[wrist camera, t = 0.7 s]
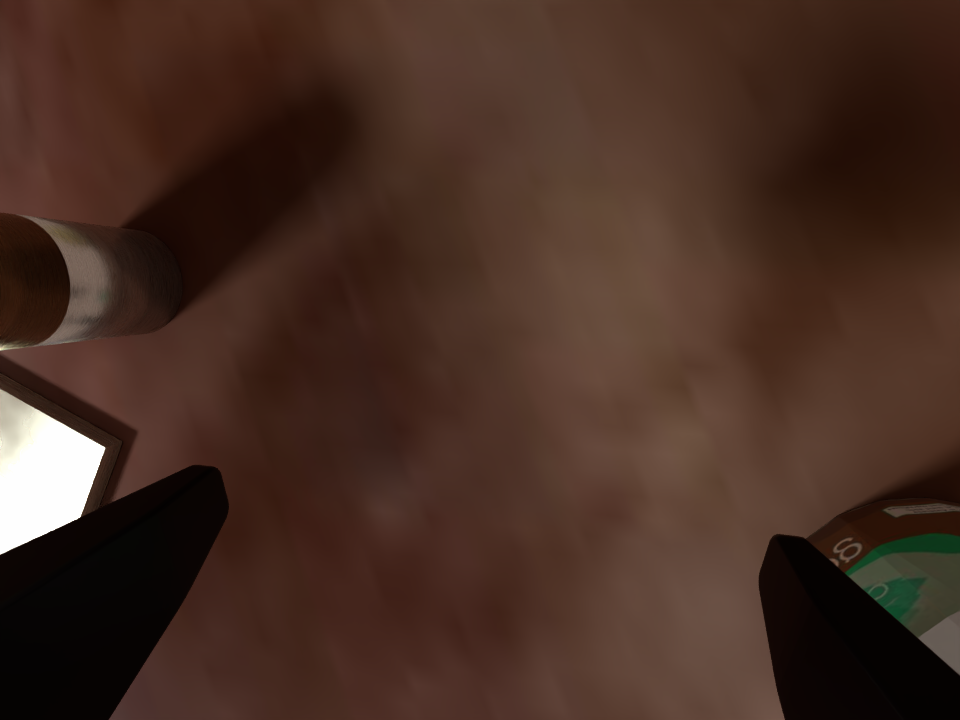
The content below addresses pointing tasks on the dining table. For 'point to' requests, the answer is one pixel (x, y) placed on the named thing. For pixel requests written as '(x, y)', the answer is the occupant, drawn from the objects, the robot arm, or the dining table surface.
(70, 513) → the stand
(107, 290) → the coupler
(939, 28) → the dining table surface
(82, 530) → the robot arm
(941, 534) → the food container
